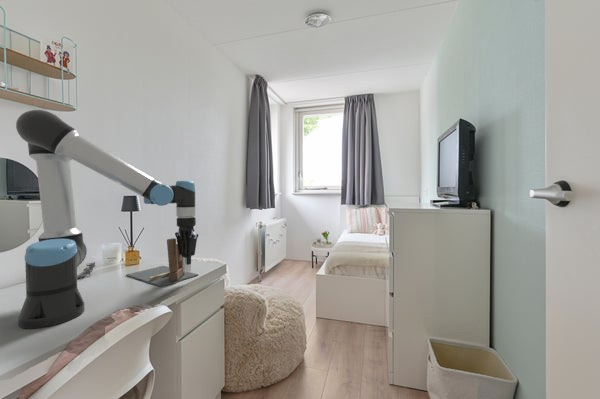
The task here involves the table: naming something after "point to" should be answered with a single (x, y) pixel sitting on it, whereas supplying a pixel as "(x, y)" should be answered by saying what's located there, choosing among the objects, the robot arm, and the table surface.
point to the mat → (151, 272)
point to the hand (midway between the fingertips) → (187, 271)
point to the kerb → (159, 276)
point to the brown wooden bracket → (174, 260)
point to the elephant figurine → (87, 270)
